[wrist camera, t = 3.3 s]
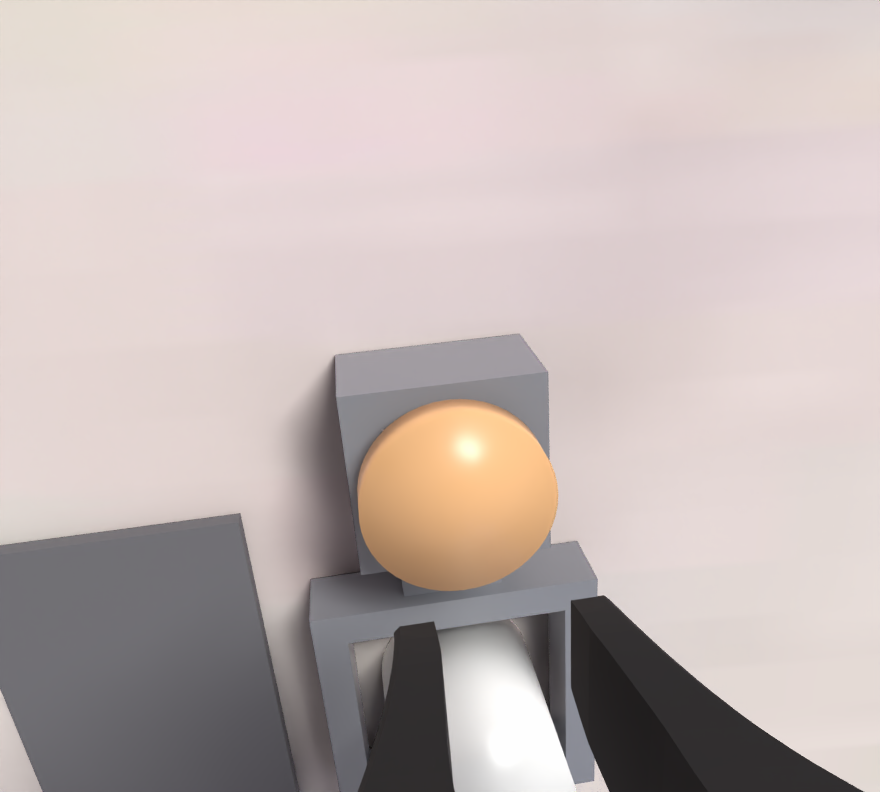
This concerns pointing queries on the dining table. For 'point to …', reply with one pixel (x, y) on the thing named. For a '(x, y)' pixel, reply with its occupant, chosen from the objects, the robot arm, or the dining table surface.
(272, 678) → the mat
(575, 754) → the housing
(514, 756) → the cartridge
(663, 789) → the robot arm
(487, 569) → the plunger
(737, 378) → the dining table surface
